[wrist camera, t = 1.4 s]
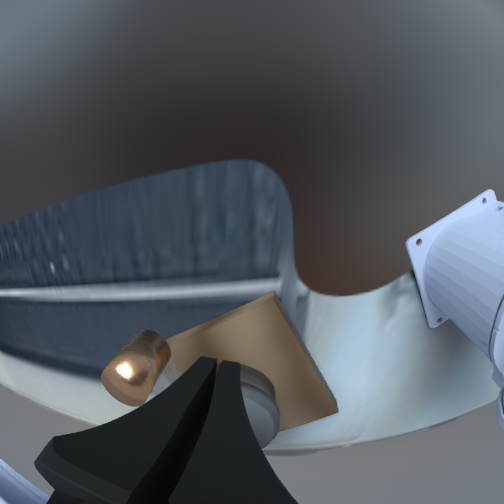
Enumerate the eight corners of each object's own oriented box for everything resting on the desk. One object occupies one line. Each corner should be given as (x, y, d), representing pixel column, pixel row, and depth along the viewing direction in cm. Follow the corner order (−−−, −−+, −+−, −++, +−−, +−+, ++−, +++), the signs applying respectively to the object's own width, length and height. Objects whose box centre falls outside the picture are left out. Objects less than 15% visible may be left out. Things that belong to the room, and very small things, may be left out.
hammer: (248, 436, 16) (241, 482, 12) (218, 441, 16) (208, 485, 13) (157, 320, 14) (123, 363, 10) (128, 333, 15) (92, 373, 11)
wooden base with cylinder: (274, 290, 19) (271, 332, 14) (336, 400, 21) (344, 447, 16) (138, 350, 22) (108, 389, 16) (213, 435, 24) (201, 476, 18)
